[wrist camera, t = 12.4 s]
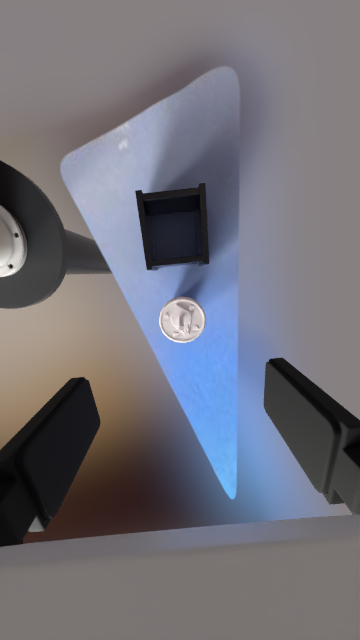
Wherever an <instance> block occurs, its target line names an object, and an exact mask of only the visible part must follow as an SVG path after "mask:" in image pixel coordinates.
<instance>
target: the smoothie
mask: <svg viewBox="0 0 360 640" xmlns="http://www.w3.org/2000/svg"><path fill="white" fill-rule="evenodd" d="M159 323H160V328H161V330H162V332H163V333H164V334H165V336H166V337H168V338H169V339H171V340H173V341H175V342H180V343H185V342H190V341H192V340H194V339H196V338H197V337H198V336H199V335H200V334H201V333H202V332H203V330H204V327H205V323H206V317H205V313H204V310H203V308H202V306H201V305H200V304H199V303H198V302H197V301H195V300H194V299H191V298H188V297H177V298H174V299H172V300H170V301H168V302H167V303H166V304H165V305H164V307H163V308H162V310H161V313H160V317H159Z"/></svg>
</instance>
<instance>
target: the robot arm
mask: <svg viewBox="0 0 360 640" xmlns="http://www.w3.org/2000/svg"><path fill="white" fill-rule="evenodd" d="M26 257H27V240H26V237H25V233H24V231H23V229H22V227H21V225H20V223H19V222H18V220H17V219H16V218H15V216H14V215H13V214H12V213H11V212H10V211H9V210H8V209H6V208H5V207H4V206H2V205H1V204H0V277H4V276H9V275H12V274H14V273H16V272H17V271H18V270H19V269H20V268H21V267H22V266H23V264H24V262H25V260H26ZM264 408H265V410H266V413H267V414H268V416H269V417H270V419H271V420H272V422H273V423H274V425H275V427H276V428H277V430H278V431H279V433H280V434H281V436H282V437H283V439H284V441H285V442H286V444H287V445H288V447H289V448H290V450H291V452H292V453H293V455H294V456H295V458H296V459H297V461H298V463H299V464H300V466H301V467H302V469H303V470H304V472H305V474H306V475H307V477H308V478H309V480H310V481H311V483H312V484H313V486H314V487H315V489H316V490H317V491H318V492H320V493H323V495H324V497H325V498H326V499H327V501H328V503H329V504H340V503H345V504H346V505H347V507H348V508H349V510H350V511H351V512H352V515H345V516H328V517H312V518H301V519H289V520H277V521H265V522H253V523H241V524H229V525H218V526H208V527H197V528H185V529H174V530H163V531H152V532H141V533H130V534H120V535H109V536H100V537H90V538H79V539H68V540H59V541H49V542H39V543H29V544H23V538H24V536H25V535H26V533H27V531H28V530H29V531H30V532H35V531H44V530H45V529H46V527H47V525H48V524H49V522H50V520H51V518H52V517H54V516H55V515H56V513H57V512H58V510H59V508H60V506H61V504H62V502H63V500H64V498H65V496H66V494H67V492H68V490H69V488H70V486H71V484H72V482H73V480H74V478H75V476H76V474H77V471H78V470H79V467H80V465H81V463H82V461H83V459H84V457H85V455H86V453H87V451H88V449H89V447H90V445H91V443H92V441H93V439H94V437H95V435H96V433H97V431H98V429H99V427H100V418H99V414H98V411H97V407H96V404H95V400H94V397H93V394H92V390H91V387H90V383H89V381H88V380H86V379H85V378H84V377H79V378H72V379H70V380H69V381H68V382H67V383H66V384H65V385H64V386H63V387H62V388H61V389H60V390H59V391H58V392H57V393H56V394H55V395H54V396H53V397H52V398H51V399H50V400H49V401H48V402H47V403H46V404H45V405H44V406H43V407H42V408H41V409H40V411H38V413H36V414H35V415H34V417H32V418H31V420H30V421H29V422H28V423H27V424H26V425H25V426H24V427H23V428H22V429H21V430H20V431H19V432H18V433H17V434H16V435H15V436H14V437H13V438H12V439H11V440H10V441H9V442H8V443H7V444H6V445H5V446H4V447H3V448H2V449H1V450H0V640H360V420H359V419H357V418H356V417H355V416H354V415H352V414H351V413H350V412H349V411H348V410H346V409H345V408H344V407H343V406H341V405H340V404H339V403H338V402H336V401H335V400H334V399H333V398H331V397H330V396H329V395H328V394H327V393H325V392H324V391H323V390H322V389H320V388H319V387H318V386H317V385H315V384H314V383H313V382H312V381H310V380H309V379H308V378H307V377H306V376H304V375H303V374H302V373H301V372H299V371H298V370H297V369H296V368H295V367H293V366H292V365H291V364H290V363H288V362H287V361H286V360H285V359H283V358H274V359H270V360H269V362H267V363H266V371H265V389H264Z"/></svg>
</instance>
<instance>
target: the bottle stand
mask: <svg viewBox="0 0 360 640" xmlns="http://www.w3.org/2000/svg"><path fill="white" fill-rule="evenodd" d="M135 192H136V198H137V205H138V212H139V219H140V226H141V233H142V239H143V246H144V253H145V260H146V267H147V270H157V268H159V267H168V266H178V265H188V264H197V263H199V266H201V265H206V264H209V251H208V230H207V210H206V189H205V183H201V184H199V186H198V188H189V189H180V190H171V191H162V192H154V193H145V194H143V193H142V190H138V191H135ZM188 211H195V213H196V229H197V245H198V256H191V257H182V258H172V259H163V260H156V255H155V247H154V239H153V231H152V224H151V216H152V215H161V214H170V213H179V212H188ZM150 215H151V216H150Z"/></svg>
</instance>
